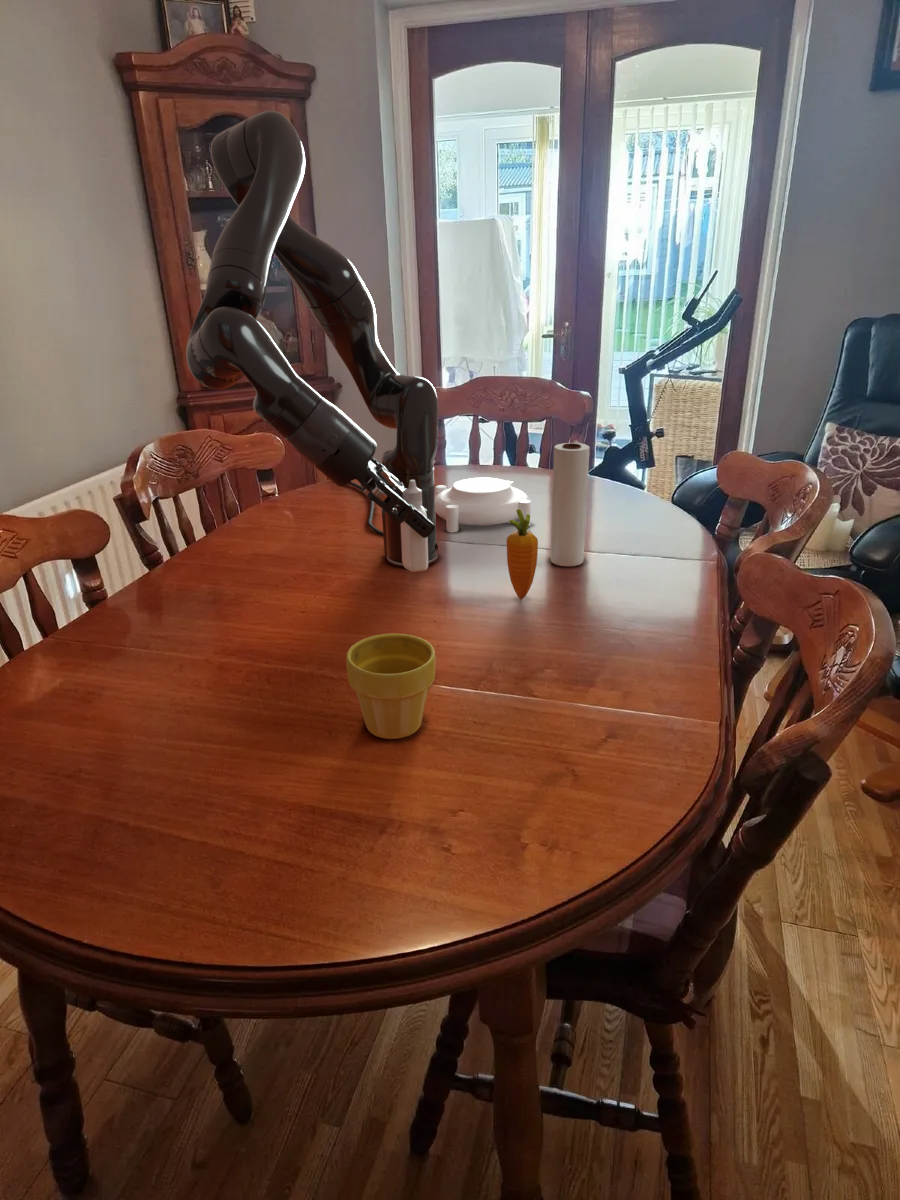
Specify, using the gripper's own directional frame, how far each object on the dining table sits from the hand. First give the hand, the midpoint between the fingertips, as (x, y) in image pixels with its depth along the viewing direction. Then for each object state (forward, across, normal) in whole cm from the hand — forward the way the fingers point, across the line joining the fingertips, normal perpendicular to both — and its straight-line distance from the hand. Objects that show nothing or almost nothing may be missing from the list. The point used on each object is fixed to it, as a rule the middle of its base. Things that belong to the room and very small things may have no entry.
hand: (426, 524), depth 102 cm
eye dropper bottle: (+3, 0, -5) cm, 6 cm away
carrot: (+25, -13, -1) cm, 28 cm away
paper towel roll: (+34, -27, +8) cm, 44 cm away
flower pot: (+8, +20, -18) cm, 28 cm away
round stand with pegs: (+27, -57, +1) cm, 63 cm away
